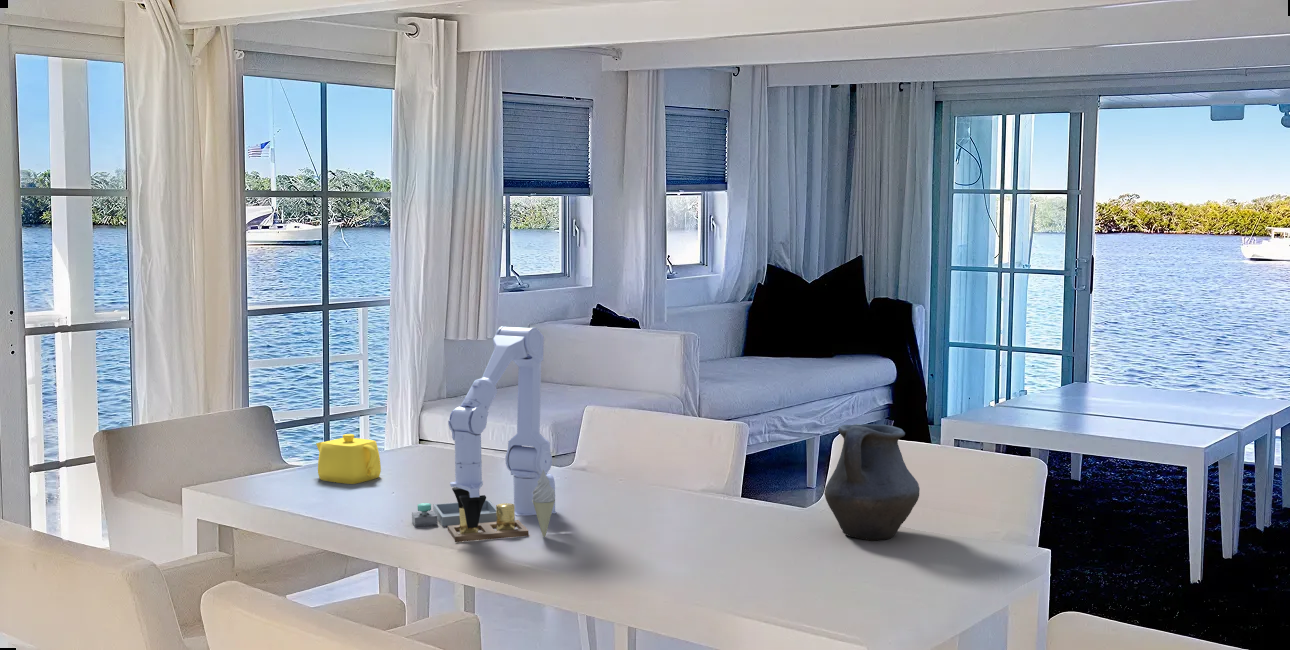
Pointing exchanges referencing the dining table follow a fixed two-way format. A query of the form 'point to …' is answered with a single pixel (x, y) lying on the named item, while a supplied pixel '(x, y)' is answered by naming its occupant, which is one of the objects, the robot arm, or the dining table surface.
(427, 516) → the button housing
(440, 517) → the tray
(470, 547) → the dining table surface
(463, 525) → the block
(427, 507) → the button
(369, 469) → the teapot
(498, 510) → the cylinder
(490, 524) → the board
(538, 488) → the ice cream cone
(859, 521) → the pitcher
